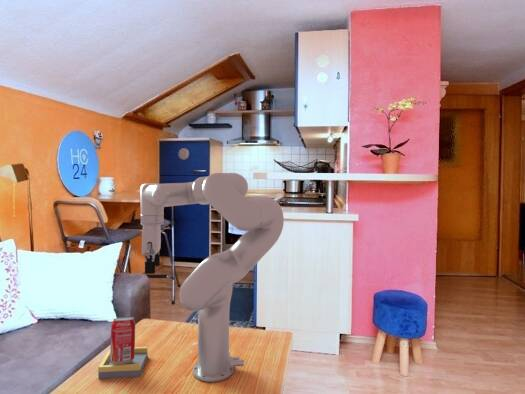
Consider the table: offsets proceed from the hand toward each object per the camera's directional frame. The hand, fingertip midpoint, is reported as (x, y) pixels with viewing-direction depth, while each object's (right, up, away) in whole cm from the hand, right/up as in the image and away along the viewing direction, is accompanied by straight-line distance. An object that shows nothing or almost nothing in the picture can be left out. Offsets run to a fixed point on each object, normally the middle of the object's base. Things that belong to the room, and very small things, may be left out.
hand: (152, 269), depth 128 cm
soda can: (-6, -27, -12) cm, 30 cm away
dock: (-6, -29, -10) cm, 31 cm away
